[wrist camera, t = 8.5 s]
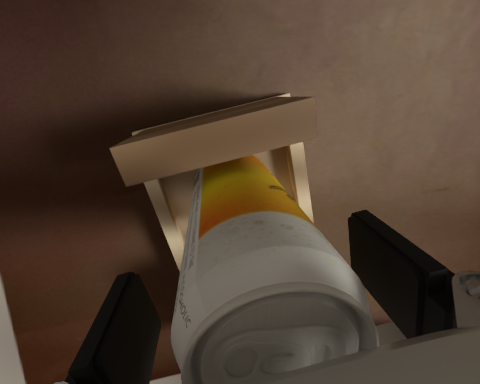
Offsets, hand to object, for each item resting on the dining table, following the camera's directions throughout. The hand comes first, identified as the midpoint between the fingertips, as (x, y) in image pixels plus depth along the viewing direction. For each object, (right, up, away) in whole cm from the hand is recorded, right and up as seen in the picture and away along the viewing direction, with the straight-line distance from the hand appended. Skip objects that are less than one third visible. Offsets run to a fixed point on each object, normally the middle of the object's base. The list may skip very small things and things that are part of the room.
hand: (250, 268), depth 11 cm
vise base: (0, 0, +12) cm, 12 cm away
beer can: (-1, +4, +10) cm, 11 cm away
